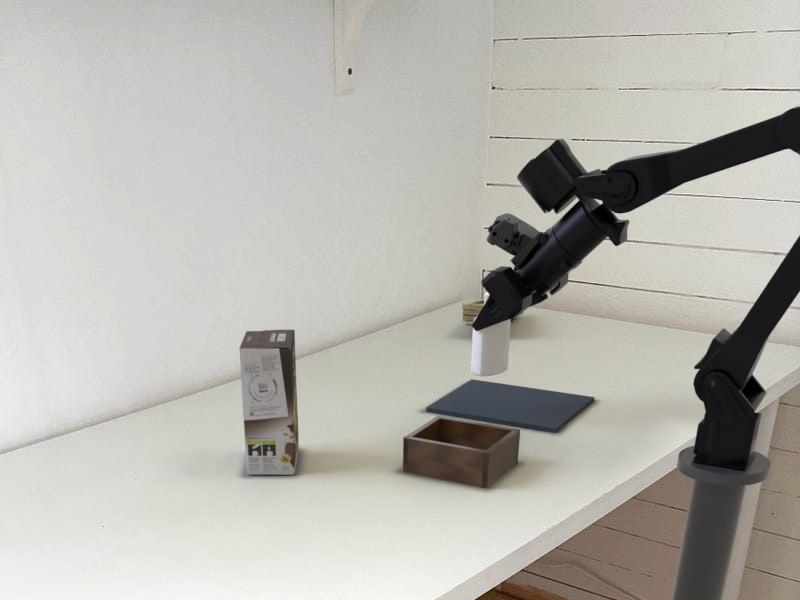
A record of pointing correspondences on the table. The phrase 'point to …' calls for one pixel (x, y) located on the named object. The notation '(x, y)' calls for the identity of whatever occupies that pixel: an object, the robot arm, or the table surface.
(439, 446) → the desk box
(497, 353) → the eye dropper bottle
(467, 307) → the box
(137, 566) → the table surface
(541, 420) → the desk mat
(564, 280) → the robot arm
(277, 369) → the coffee box
